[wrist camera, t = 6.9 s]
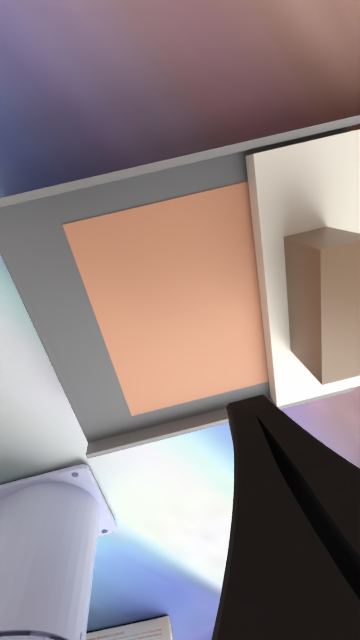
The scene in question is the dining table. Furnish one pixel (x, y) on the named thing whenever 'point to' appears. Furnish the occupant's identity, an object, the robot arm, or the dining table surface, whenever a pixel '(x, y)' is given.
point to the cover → (308, 264)
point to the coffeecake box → (136, 631)
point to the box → (148, 290)
